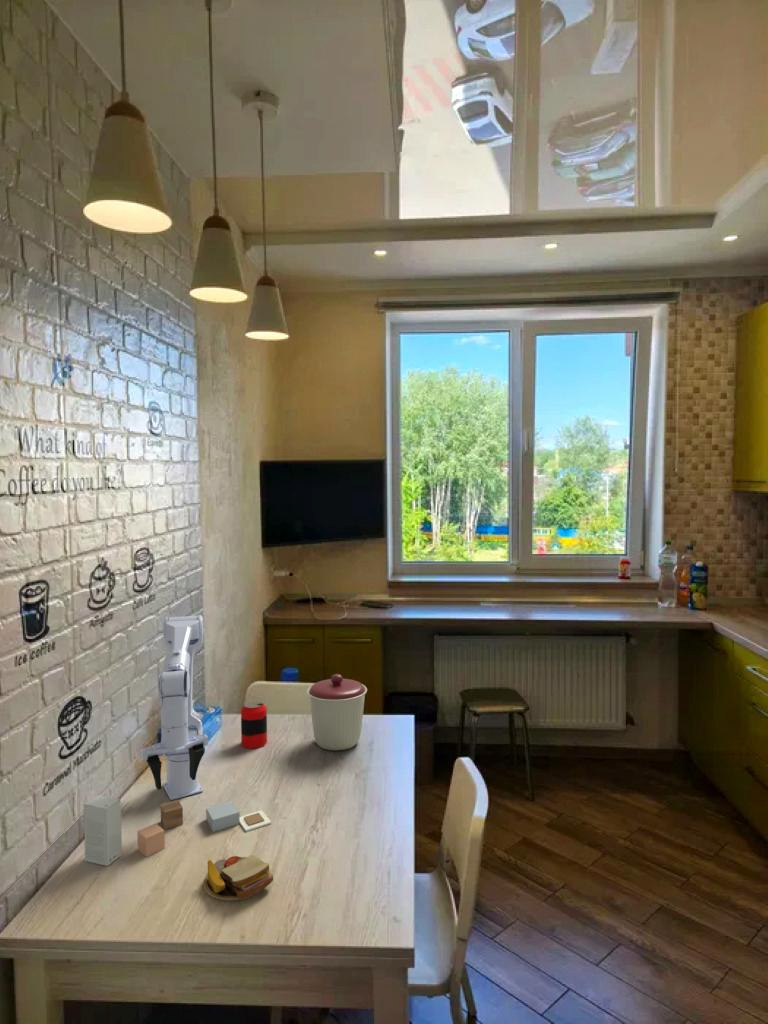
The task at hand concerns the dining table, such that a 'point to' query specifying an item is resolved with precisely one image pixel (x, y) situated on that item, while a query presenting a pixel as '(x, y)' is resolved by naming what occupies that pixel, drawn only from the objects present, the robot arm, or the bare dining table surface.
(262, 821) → the swatch
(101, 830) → the skincare box
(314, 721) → the canister
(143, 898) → the dining table surface
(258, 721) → the soda can
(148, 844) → the terracotta cube
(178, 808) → the walnut cube
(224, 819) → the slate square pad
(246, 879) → the toy sandwich meal
